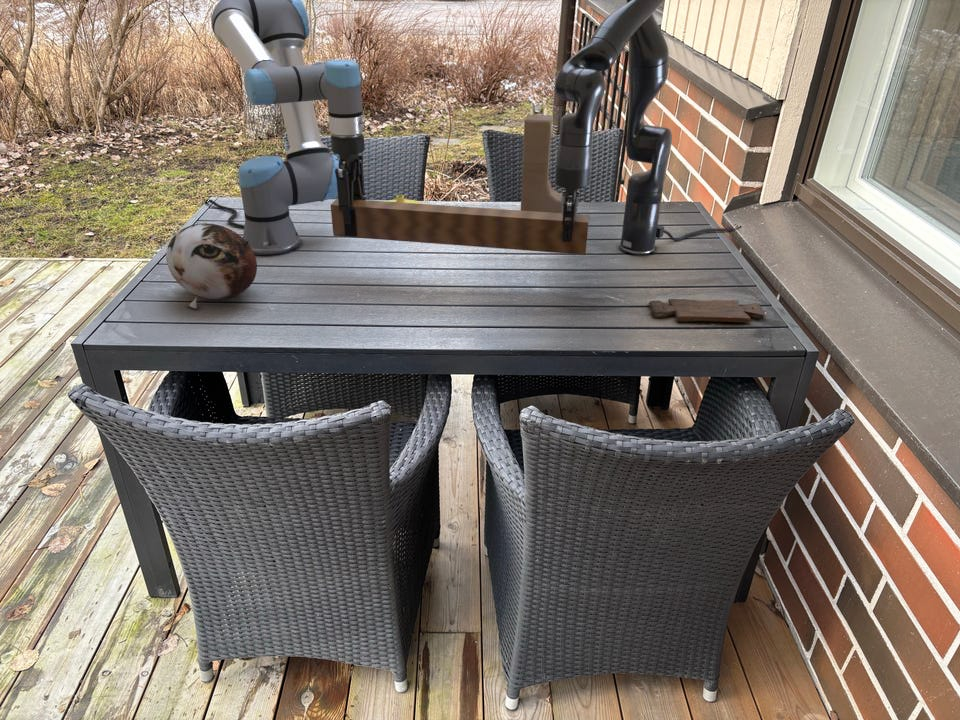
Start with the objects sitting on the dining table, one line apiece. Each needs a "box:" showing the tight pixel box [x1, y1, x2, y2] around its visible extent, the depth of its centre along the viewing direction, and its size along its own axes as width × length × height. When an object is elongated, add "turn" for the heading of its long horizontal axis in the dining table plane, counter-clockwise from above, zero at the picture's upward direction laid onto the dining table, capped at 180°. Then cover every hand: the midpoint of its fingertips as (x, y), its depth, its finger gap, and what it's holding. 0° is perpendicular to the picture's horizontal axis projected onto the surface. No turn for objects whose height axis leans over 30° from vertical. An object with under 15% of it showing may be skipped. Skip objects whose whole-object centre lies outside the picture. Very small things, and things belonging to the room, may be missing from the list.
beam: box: [330, 197, 590, 256], centre depth 169 cm, size 61×5×8 cm, turn 81°
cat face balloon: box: [165, 222, 258, 309], centre depth 165 cm, size 22×18×20 cm
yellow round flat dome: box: [385, 194, 424, 204], centre depth 214 cm, size 16×16×7 cm
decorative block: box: [520, 114, 563, 213], centre depth 210 cm, size 8×15×30 cm, turn 82°
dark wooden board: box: [648, 298, 765, 323], centre depth 164 cm, size 26×2×10 cm
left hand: (354, 231), depth 174 cm, fingers closed on beam, 5 cm apart
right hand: (567, 236), depth 166 cm, fingers closed on beam, 5 cm apart
